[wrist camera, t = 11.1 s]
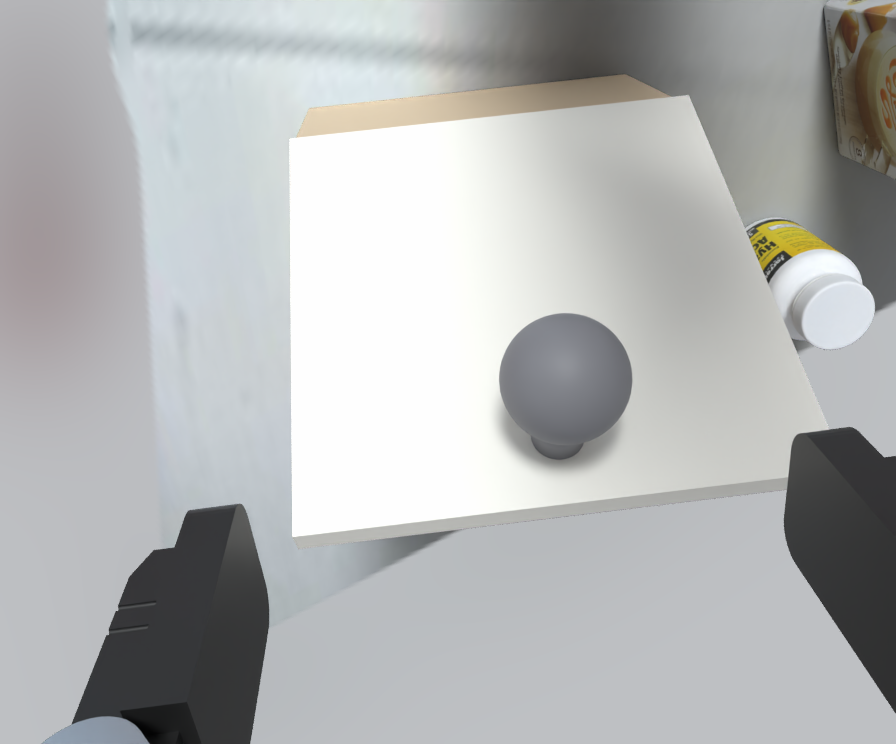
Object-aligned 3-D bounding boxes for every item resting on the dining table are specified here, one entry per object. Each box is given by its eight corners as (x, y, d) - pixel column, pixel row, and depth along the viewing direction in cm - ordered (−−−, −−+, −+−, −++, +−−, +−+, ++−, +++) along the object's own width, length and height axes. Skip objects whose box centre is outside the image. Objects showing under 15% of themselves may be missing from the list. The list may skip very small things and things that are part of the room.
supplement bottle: (737, 209, 52) (810, 262, 43) (818, 221, 53) (907, 274, 44) (712, 291, 54) (776, 356, 45) (790, 301, 55) (868, 367, 46)
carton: (309, 108, 47) (293, 144, 38) (625, 74, 48) (682, 102, 39) (356, 402, 56) (352, 488, 47) (624, 371, 56) (671, 450, 47)
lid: (293, 155, 38) (261, 27, 33) (684, 112, 39) (715, -21, 33) (298, 549, 28) (251, 455, 22) (836, 483, 28) (917, 376, 23)
